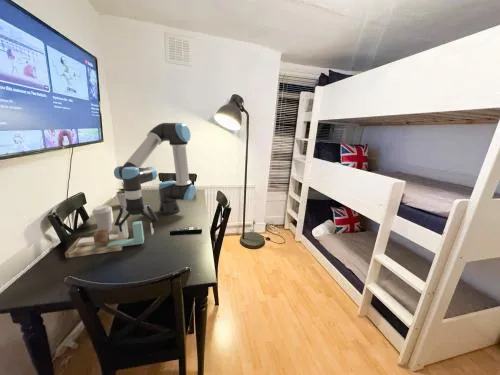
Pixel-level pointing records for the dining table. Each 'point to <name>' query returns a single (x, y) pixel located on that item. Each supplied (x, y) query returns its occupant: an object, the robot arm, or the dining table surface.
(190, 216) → the dining table surface
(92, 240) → the strip grey
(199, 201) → the dining table surface
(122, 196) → the potted plant
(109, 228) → the coffee cup
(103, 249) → the board
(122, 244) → the strip teal
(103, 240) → the block
